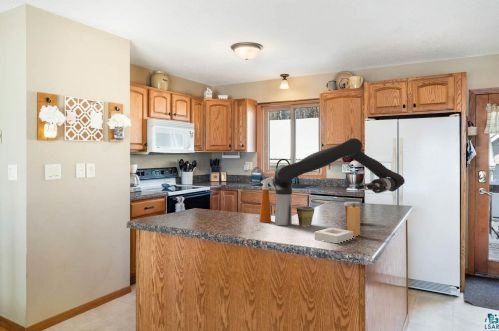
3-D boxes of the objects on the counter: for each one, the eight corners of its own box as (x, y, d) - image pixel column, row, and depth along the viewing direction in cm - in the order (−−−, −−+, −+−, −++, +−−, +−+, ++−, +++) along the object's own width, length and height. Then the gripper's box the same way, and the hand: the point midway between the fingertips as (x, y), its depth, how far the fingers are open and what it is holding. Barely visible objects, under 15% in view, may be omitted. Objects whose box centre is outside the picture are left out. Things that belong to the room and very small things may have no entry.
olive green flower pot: (314, 228, 186) (314, 209, 186) (295, 227, 188) (295, 208, 188) (314, 223, 199) (314, 205, 199) (297, 222, 201) (297, 205, 201)
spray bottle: (272, 223, 197) (273, 177, 196) (256, 221, 203) (257, 176, 202) (278, 221, 203) (279, 176, 202) (263, 219, 209) (263, 175, 208)
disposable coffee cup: (353, 225, 194) (354, 204, 193) (340, 222, 201) (340, 202, 201) (364, 223, 199) (364, 202, 199) (350, 220, 207) (351, 200, 206)
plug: (355, 237, 166) (355, 204, 166) (346, 235, 169) (347, 203, 169) (359, 235, 169) (360, 203, 169) (351, 234, 172) (352, 202, 172)
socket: (337, 244, 153) (337, 236, 153) (314, 239, 162) (314, 231, 162) (353, 238, 163) (353, 231, 163) (331, 234, 172) (331, 227, 172)
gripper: (368, 177, 191) (352, 180, 180) (393, 179, 181) (378, 181, 170) (368, 191, 192) (352, 194, 181) (393, 193, 181) (378, 196, 170)
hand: (365, 188), depth 175 cm, fingers open, 8 cm apart
